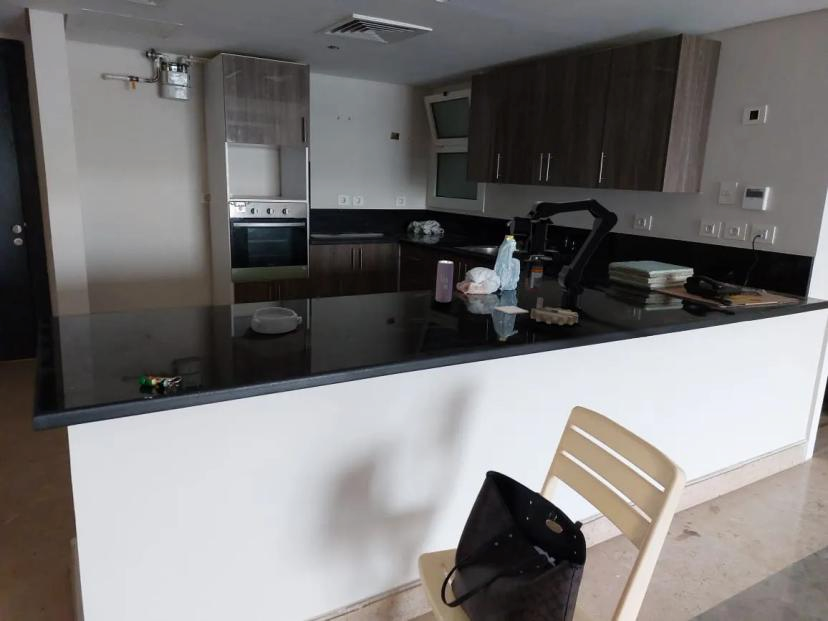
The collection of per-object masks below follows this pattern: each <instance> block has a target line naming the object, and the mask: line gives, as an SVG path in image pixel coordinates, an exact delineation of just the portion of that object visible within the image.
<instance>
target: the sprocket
mask: <svg viewBox="0 0 828 621" xmlns="http://www.w3.org/2000/svg"><path fill="white" fill-rule="evenodd" d="M543 305H544V297H541V296H539V297H537V299H536V307H535V308H534V307H532V308H531V309H530V310H531V311H530V318H531V319H533V320H535V322H538V323H539V322H543V323H546V324H547V325H552V324H555V325H559V326H563V325H569V326H573V325H574V323H575V324H577V323H578V321H579V313H577V312H576V311H573V310H568V309H565V308H562V307H556V308H555V307H550V306H545V307H543Z"/></svg>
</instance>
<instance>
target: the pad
mask: <svg viewBox="0 0 828 621" xmlns="http://www.w3.org/2000/svg"><path fill="white" fill-rule="evenodd" d="M493 309H494V310H496V311H499V312H500V313H504V314H506V315H515V314H518V315H520V314H529V310H527V309H523V308H520V307H517V306H514V305H508V306H506V305H505V306H494V307H493Z"/></svg>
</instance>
